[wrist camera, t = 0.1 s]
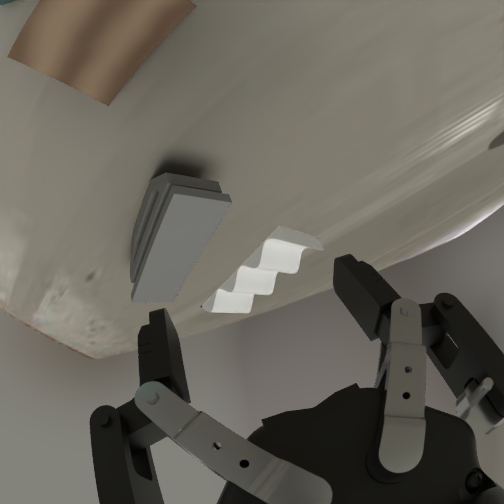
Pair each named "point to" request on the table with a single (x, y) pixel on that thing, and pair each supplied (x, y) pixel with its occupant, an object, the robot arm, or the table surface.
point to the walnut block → (95, 40)
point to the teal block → (5, 1)
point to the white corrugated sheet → (261, 270)
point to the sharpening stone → (172, 233)
